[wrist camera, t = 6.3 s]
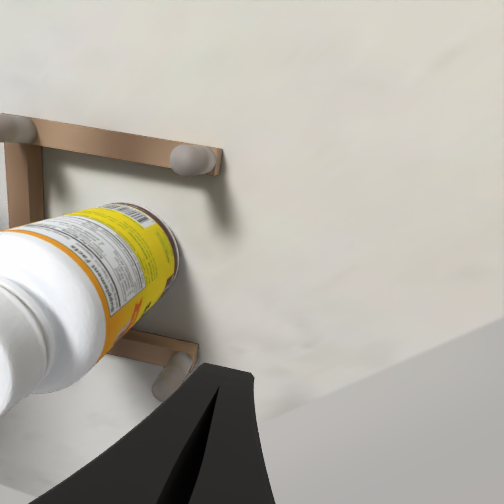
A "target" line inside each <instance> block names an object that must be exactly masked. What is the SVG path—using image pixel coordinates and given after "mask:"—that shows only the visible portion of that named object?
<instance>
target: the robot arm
mask: <svg viewBox="0 0 504 504" xmlns="http://www.w3.org/2000/svg"><path fill="white" fill-rule="evenodd" d="M29 504H275V501H274V497H273V494H272V490H271V486H270V483H269V478H268V474H267V471H266V467H265V462H264V458H263V453H262V449H261V443H260V438H259V433H258V427H257V421H256V414H255V405H254V376H253V375H252V374H251V373H249V372H245V371H240V370H236V369H231V368H227V367H222V366H218V365H213V364H209V363H203V364H202V365H200V366H199V367H198V368H197V369H196V371H195V372H194V373H193V374H192V375H191V376H190V377H189V378H188V379H187V380H186V381H185V382H184V383H183V384H182V385H181V386H180V387H179V388H178V389H177V390H176V391H175V392H174V393H173V394H172V395H171V396H170V397H169V398H168V399H166V400H165V401H164V402H163V403H162V404H161V405H160V406H159V407H158V408H157V409H155V410H154V411H153V412H152V413H151V414H150V415H149V416H148V417H146V418H145V419H144V420H143V421H142V422H141V423H139V424H138V425H137V426H136V427H134V428H133V429H132V430H131V431H130V432H128V433H127V434H126V435H125V436H123V437H122V438H121V439H120V440H119V441H117V442H116V443H115V444H114V445H112V446H111V447H110V448H108V449H107V450H106V451H104V452H103V453H102V454H100V455H99V456H98V457H96V458H95V459H94V460H92V461H91V462H90V463H88V464H87V465H85V466H84V467H83V468H81V469H80V470H78V471H77V472H75V473H74V474H73V475H71V476H70V477H68V478H67V479H65V480H64V481H63V482H61V483H60V484H58V485H56V486H55V487H53V488H52V489H50V490H49V491H47V492H46V493H44V494H43V495H41V496H40V497H38V498H36V499H35V500H33V501H32V502H30V503H29Z"/></svg>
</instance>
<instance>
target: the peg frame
mask: <svg viewBox="0 0 504 504" xmlns="http://www.w3.org/2000/svg"><path fill="white" fill-rule="evenodd" d="M0 142H4V149H5V165H6V181H7V196H8V212H9V228H14V227H18V226H22V225H26V224H30V223H33V222H37V221H41V220H44V200H43V169H42V146H45V147H51V148H57V149H62V150H68V151H74V152H80V153H86V154H92V155H97V156H103V157H109V158H115V159H121V160H127V161H132V162H138V163H144V164H150V165H156V166H162V167H167V168H172V169H173V171H174V172H175V173H176V174H178V175H180V176H183V177H189V176H194V175H200V174H208V175H219V173H220V165H221V157H222V149H220V148H214V147H208V146H202V145H196V144H190V143H184V142H177V141H171V140H165V139H159V138H153V137H147V136H141V135H135V134H129V133H122V132H116V131H110V130H104V129H98V128H92V127H86V126H80V125H73V124H67V123H61V122H55V121H49V120H43V119H37V118H31V117H25V116H18V115H11V114H4V113H2V114H0ZM198 345H199V344H195V343H191V342H186V341H182V340H177V339H172V338H168V337H163V336H159V335H154V334H150V333H145V332H141V331H136V330H132V329H129V330H128V331H127V332H126V334H125V335H124V336H123V337H122V338H121V339H120V340H119V341H118V342H117V343H116V344H115V345H114V346H113V347H112V348H111V349H110V350H109V351H108V352H107V354H112V355H116V356H121V357H125V358H129V359H134V360H138V361H142V362H147V363H151V364H156V365H160V366H164V369H163V371H162V372H161V374H160V375H159V377H158V378H157V380H156V381H155V383H154V384H153V386H152V393H153V395H154V397H155V398H156V399H158V400H159V401H162V402H164V401H165V400H166V399H168V398H169V397H170V396H171V395H172V394H173V393H174V392H175V391H176V390H177V389H178V388H179V387H180V386H181V385H182V383H183V381H184V379H185V377H186V375H187V373H188V372H190V373H191V372H192V370H193V368H194V366H195V364H196V361H197V353H198Z"/></svg>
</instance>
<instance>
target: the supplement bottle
mask: <svg viewBox="0 0 504 504" xmlns="http://www.w3.org/2000/svg"><path fill="white" fill-rule="evenodd" d="M178 266H179V253H178V247H177V244H176V241H175V238H174V236H173V234H172V232H171V230H170V229H169V227H168V226H167V225H166V223H165V222H164V221H163V220H162V219H161V218H160V217H159V216H157V215H156V214H155V213H153V212H152V211H150V210H148V209H147V208H145V207H142V206H139V205H136V204H132V203H112V204H106V205H102V206H98V207H94V208H90V209H86V210H82V211H78V212H74V213H70V214H66V215H62V216H58V217H54V218H50V219H45V220H41V221H37V222H33V223H30V224H26V225H22V226H18V227H14V228H10V229H6V230H2V231H0V417H1V416H2V415H3V414H4V413H6V412H7V411H8V410H9V409H10V408H12V407H13V406H14V405H15V404H17V403H18V402H19V401H20V400H22V399H23V398H25V397H27V396H28V395H30V394H42V393H50V392H54V391H58V390H61V389H63V388H66V387H68V386H70V385H72V384H73V383H75V382H76V381H78V380H79V379H80V378H82V377H83V376H84V375H85V374H86V373H87V372H88V371H90V370H91V369H92V367H93V366H94V365H95V364H96V363H97V362H98V361H99V360H100V359H101V358H102V357H103V356H104V355H105V354H106V353H107V352H108V351H109V350H110V349H111V348H112V347H113V346H114V345H115V344H116V343H117V342H118V341H119V340H120V339H121V338H122V337H123V336H124V335H125V334H126V332H127V331H128V330H129V329H130V328H131V327H132V326H133V325H134V324H135V323H136V322H137V321H138V320H139V319H140V318H141V317H142V316H143V315H144V314H145V313H146V312H147V311H148V310H149V309H150V308H151V307H152V306H153V305H154V304H155V303H156V301H158V300H159V299H160V298H161V297H162V296H163V294H164V293H165V292H166V291H167V290H168V289H169V287H170V286H171V285H172V283H173V281H174V279H175V277H176V274H177V271H178Z"/></svg>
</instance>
